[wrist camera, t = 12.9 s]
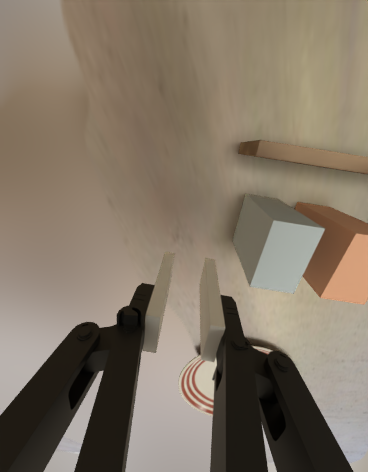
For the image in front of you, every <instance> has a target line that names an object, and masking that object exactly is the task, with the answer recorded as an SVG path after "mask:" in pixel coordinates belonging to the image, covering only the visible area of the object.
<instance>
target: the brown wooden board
mask: <svg viewBox="0 0 368 472" xmlns="http://www.w3.org/2000/svg"><path fill="white" fill-rule="evenodd" d="M238 154H244V155H250V156H256V157H263V158H269V159H275V160H281V161H288V162H294V163H300V164H307V165H313V166H319V167H325V168H332V169H338V170H344V171H350V172H357V173H363V174H368V157H363V156H357V155H350V154H344V153H338V152H332V151H325V150H319V149H313V148H307V147H300V146H294V145H288V144H281V143H275V142H269V141H263V140H257V141H250V142H242V143H241V145H240V149H239V153H238Z"/></svg>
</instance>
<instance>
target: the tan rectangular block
mask: <svg viewBox="0 0 368 472" xmlns="http://www.w3.org/2000/svg"><path fill="white" fill-rule="evenodd" d="M295 210H296V211H298V212H300V213H301V214H303V215H304V216H306V217H308V218H309V219H311V220H312V221H314V222H315V223H317V224H319V225H320V226H322V227H323V228H325V230H324V232H323V234H322V237H321V239H320V241H319V243H318V245H317V247H316V249H315V251H314V253H313V255H312V257H311V259H310V261H309V263H308V265H307V267H306V269H305V272H304V274H303V277H304V279H305V280H306V281H307V282H308V283H309V285H310V286H311V287H312V288H313V290H314V291H315V292H316V293H317V294H318V296H319V297H320V298H325V299H331V300H338V301H344V302H351V303H357V304H365V303H366V301H367V300H368V224H367V223H365V222H363V221H361V220H358V219H356V218H354V217H352V216H349V215H347V214H345V213H343V212H340V211H338V210H336V209H334V208H331V207H327V206H320V205H314V204H308V203H301V202H297V205H296V207H295Z"/></svg>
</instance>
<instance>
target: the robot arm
mask: <svg viewBox="0 0 368 472" xmlns="http://www.w3.org/2000/svg"><path fill="white" fill-rule="evenodd" d="M174 254H175V253H170V252H165V254H164V258H163V261H162V264H161V267H160V270H159V274H158V277H157V280H156V283H155V285H151V284H144V283H142V284H141V285H139V286H138V287H137V289H136V291H135V293H134V296H133V298H132V300H131V302H130V305H129V306H126V307H123V308H122V309H121V310H119V312H118V313H117V324H116V325H114V326H110V327H104V328H99V326H98V325H97V324H95V323H93V322H85V323H81V324H79V325H77V326H76V327H75V328H74V329H73V330H72V331H71V332H70V333H69V334H68V335H67V337H66V338H65V339H64V340H63V341H62V343H61V344H60V345H59V346H58V347H57V349H56V350H55V351H54V352H53V353H52V355H51V356H50V357H49V358H48V359H47V361H46V362H45V363H44V364H43V365H42V367H41V368H40V369H39V370H38V371H37V373H36V374H35V375H34V376H33V377H32V379H31V380H30V381H29V382H28V383H27V384H26V386H25V387H24V388H23V389H22V390H21V391H20V393H19V394H18V395H17V396H16V397H15V399H14V400H13V401H12V402H11V403H10V405H9V406H8V407H7V408H6V409H5V411H4V412H3V413H2V414H1V415H0V472H43V471H44V470H45V468H46V466H47V464H48V462H49V461H50V459H51V457H52V455H53V453H54V452H55V450H56V448H57V446H58V444H59V443H60V441H61V439H62V437H63V435H64V434H65V432H66V430H67V428H68V426H69V425H70V423H71V421H72V419H73V417H74V416H75V414H76V412H77V410H78V409H79V407H80V405H81V403H82V401H83V400H84V398H85V396H86V394H87V392H88V391H89V389H90V387H91V385H92V383H93V381H94V380H95V378H96V376H97V374H98V373H99V371H103V370H104V372H103V376H102V379H101V382H100V386H99V389H98V392H97V396H96V399H95V403H94V406H93V409H92V413H91V417H90V420H89V423H88V427H87V430H86V434H85V437H84V440H83V444H82V447H81V450H80V454H79V457H78V461H77V464H76V468H75V471H74V472H125V468H126V461H127V454H128V447H129V440H130V432H131V425H132V417H133V409H134V403H135V396H136V389H137V381H138V374H139V366H140V359H141V352H142V349H143V351H147V352H153V353H156V350H157V345H158V340H159V335H160V330H161V326H162V320H163V316H164V311H165V306H166V301H167V296H168V291H169V286H170V282H171V275H172V268H173V261H174ZM200 344H201V360H204V361H210V362H214V361H215V358H216V361H217V366H216V369H215V372H214V375H213V378H212V380H213V381H214V401H213V424H212V444H211V467H210V472H268V467H267V460H266V453H265V445H264V438H263V430H262V425H263V428H264V432H265V435H266V438H267V441H268V444H269V447H270V451H271V454H272V457H273V460H274V463H275V466H276V470H277V472H353V470H352V468H351V466H350V465H349V463H348V461H347V459H346V457H345V455H344V454H343V452H342V450H341V448H340V446H339V444H338V443H337V441H336V439H335V437H334V435H333V434H332V432H331V430H330V428H329V426H328V424H327V423H326V421H325V419H324V417H323V415H322V413H321V412H320V410H319V408H318V406H317V404H316V403H315V401H314V399H313V397H312V395H311V393H310V392H309V390H308V388H307V386H306V384H305V382H304V381H303V379H302V377H301V375H300V373H299V371H298V370H297V368H296V366H295V364H294V363H293V361H292V360H291V359H290V358H289V357H288V356H287V355H285V354H284V353H282V352H279V351H271V352H270V353H269V354H266V353H263V352H261V351H259V350H257V349H255V348H254V347H252V346H251V345H250V342H249V341H248V340H247V338H245V337H244V334H243V330H242V326H241V322H240V318H239V314H238V310H237V306H236V302H235V301H234V300H233V298H232V297H229V296H223V295H220V290H219V283H218V277H217V270H216V264H215V260H214V259H208V258H206V259H205V263H204V268H203V272H202V277H201V281H200ZM214 379H215V380H214ZM261 422H262V423H261Z"/></svg>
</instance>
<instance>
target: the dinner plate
mask: <svg viewBox="0 0 368 472" xmlns="http://www.w3.org/2000/svg"><path fill="white" fill-rule="evenodd" d="M252 347H254V348H255V349H257V350H259V351H261V352H263V353H266V354H269V353H270V352H271V351H273V350H270V349H267V348H263V347H258V346H252ZM216 366H217V361H216V358H215V361H214V362H210V361H204V360H201V355H199V356H197V357H196V358H194V359H193V360H191V361H190V362H189V363H188V364H187V365H186V366H185V367H184V369H183V370H182V372H181V374H180V377H179V383H178V385H179V391H180V394H181V396H182V397H183V399H184V400H185V401H186V402H187V403H188V404H189V405H190V406H192V407H193V408H194V409H196V410H198V411H200V412H202V413H204V414H207V415H210V416H213V401H214V381H213V380H212V378H213V375H214V372H215V369H216ZM214 380H215V379H214Z"/></svg>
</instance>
